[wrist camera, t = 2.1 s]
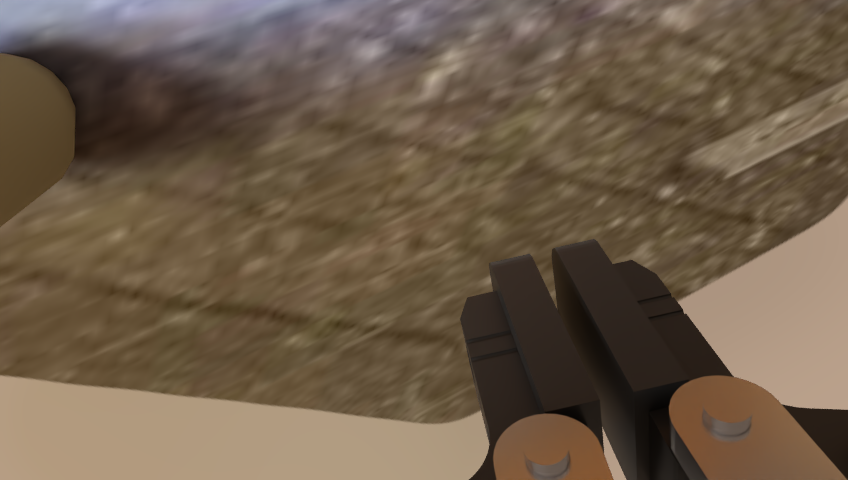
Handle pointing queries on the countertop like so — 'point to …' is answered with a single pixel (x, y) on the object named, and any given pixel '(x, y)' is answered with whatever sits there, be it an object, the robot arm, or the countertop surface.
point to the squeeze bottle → (32, 132)
